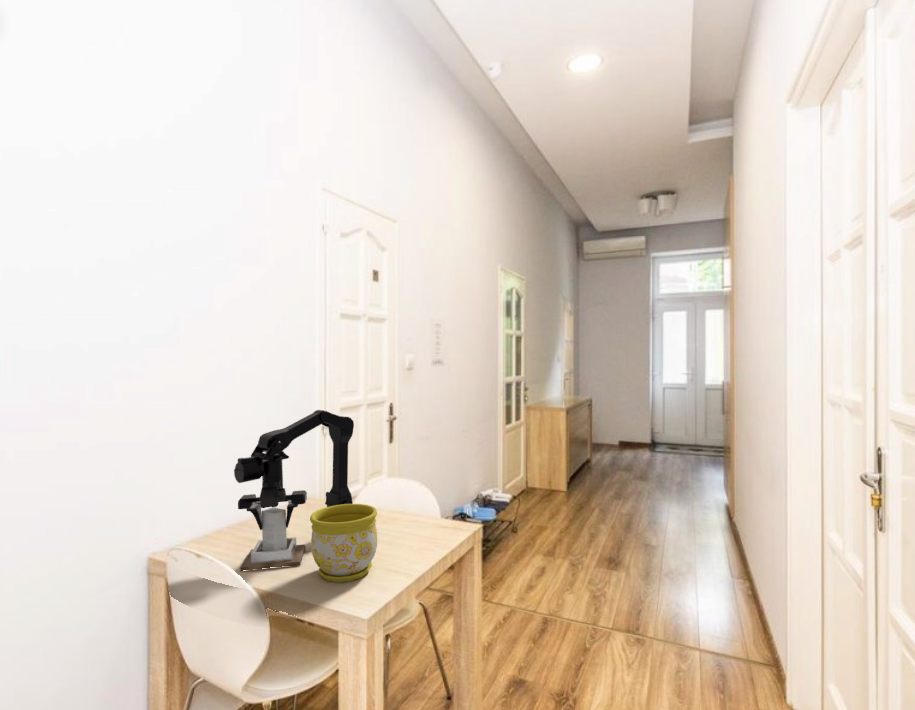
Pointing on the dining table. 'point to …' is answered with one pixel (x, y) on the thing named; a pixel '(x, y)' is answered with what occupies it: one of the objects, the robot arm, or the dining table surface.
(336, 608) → the dining table surface
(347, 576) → the flowerpot
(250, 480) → the robot arm
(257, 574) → the dining table surface
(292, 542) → the light gray square frame
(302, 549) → the square wooden tray
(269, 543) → the skincare box
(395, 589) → the dining table surface
